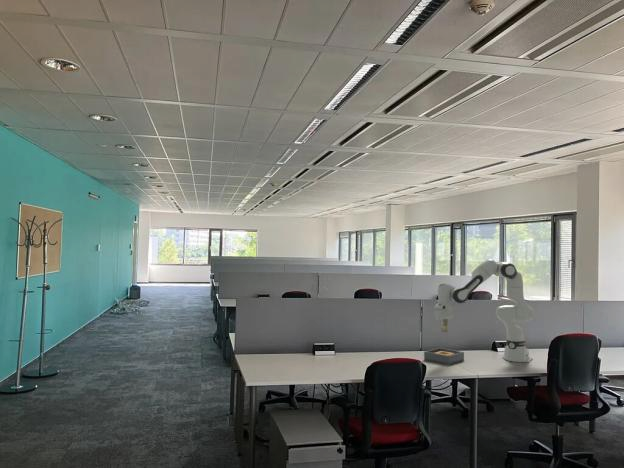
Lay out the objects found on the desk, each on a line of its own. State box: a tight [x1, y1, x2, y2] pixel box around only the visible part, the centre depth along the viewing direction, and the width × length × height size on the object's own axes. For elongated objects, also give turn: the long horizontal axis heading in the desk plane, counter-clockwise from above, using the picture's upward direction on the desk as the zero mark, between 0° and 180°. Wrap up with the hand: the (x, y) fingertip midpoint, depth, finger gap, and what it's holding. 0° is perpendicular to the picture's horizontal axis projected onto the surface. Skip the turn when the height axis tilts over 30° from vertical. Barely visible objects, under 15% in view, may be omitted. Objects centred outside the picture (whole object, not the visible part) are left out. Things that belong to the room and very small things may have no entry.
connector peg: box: [441, 319, 448, 333], centre depth 330 cm, size 4×4×9 cm
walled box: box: [423, 347, 465, 366], centre depth 330 cm, size 20×20×6 cm
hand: (444, 325), depth 330 cm, fingers closed on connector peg, 4 cm apart
